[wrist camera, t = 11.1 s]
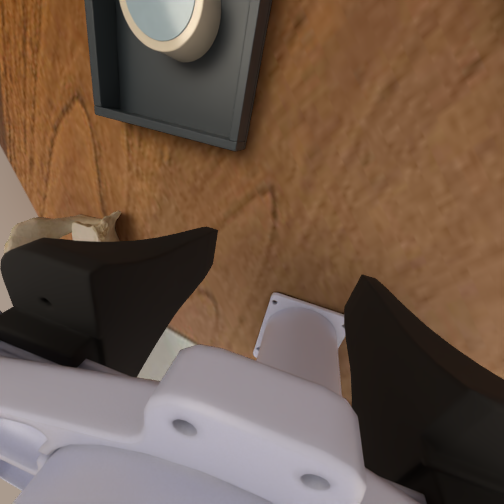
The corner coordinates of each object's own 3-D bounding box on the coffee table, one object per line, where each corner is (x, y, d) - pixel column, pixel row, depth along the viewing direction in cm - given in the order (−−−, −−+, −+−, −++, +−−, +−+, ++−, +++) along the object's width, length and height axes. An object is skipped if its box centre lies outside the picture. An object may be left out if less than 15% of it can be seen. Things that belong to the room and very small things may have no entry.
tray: (245, 149, 19) (235, 151, 17) (118, 116, 20) (94, 114, 18) (300, -152, 12) (296, -215, 10) (104, -172, 13) (61, -231, 11)
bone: (157, 242, 23) (47, 321, 18) (151, 259, 28) (65, 322, 23) (92, 171, 22) (-45, 232, 17) (98, 202, 27) (-3, 255, 22)
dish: (215, 70, 17) (198, 59, 14) (145, 54, 17) (117, 42, 15) (227, -43, 14) (209, -78, 12) (144, -57, 15) (111, -92, 12)
